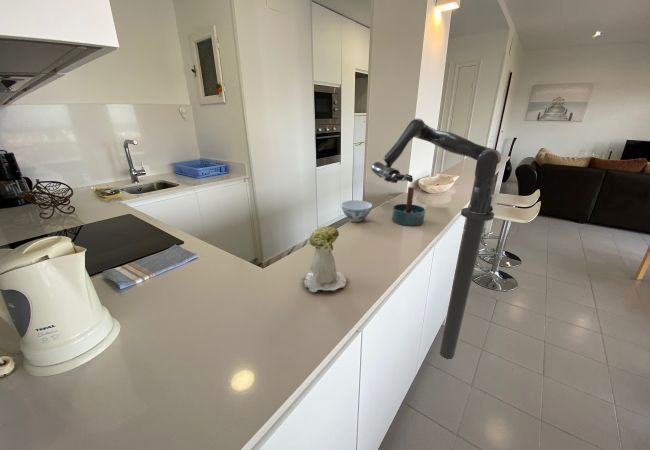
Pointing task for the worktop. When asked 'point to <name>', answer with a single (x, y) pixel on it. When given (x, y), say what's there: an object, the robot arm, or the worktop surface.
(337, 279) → the white plant vase
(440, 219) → the worktop surface
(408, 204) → the pestle
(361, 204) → the chinaware
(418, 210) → the bowl
